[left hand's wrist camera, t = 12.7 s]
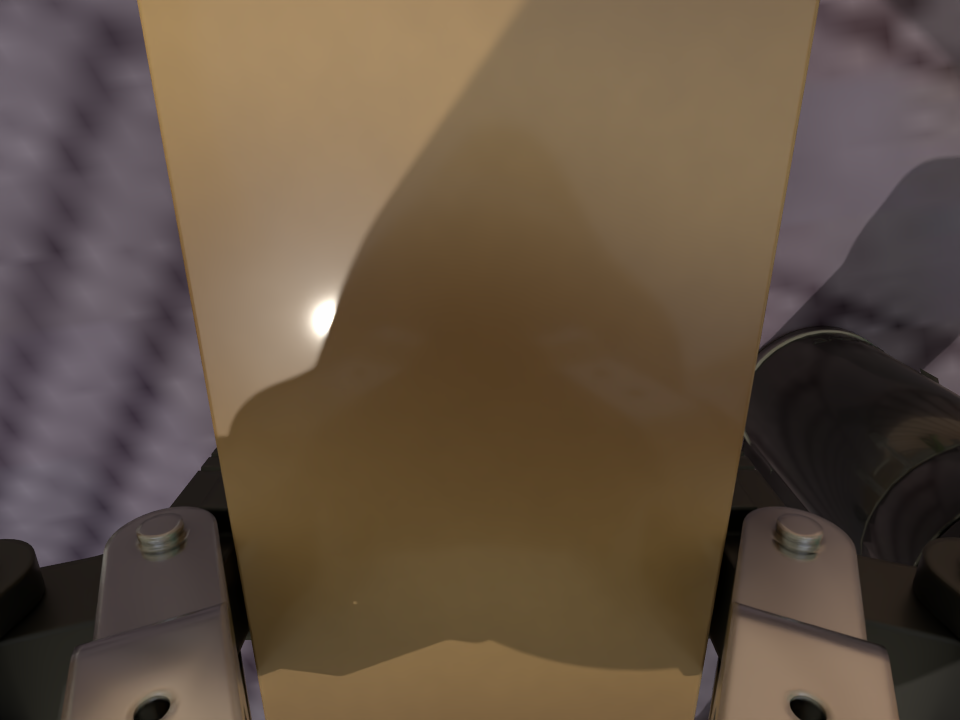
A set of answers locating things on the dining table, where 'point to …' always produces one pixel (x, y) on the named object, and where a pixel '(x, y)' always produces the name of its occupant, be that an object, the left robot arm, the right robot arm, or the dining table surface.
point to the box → (479, 332)
